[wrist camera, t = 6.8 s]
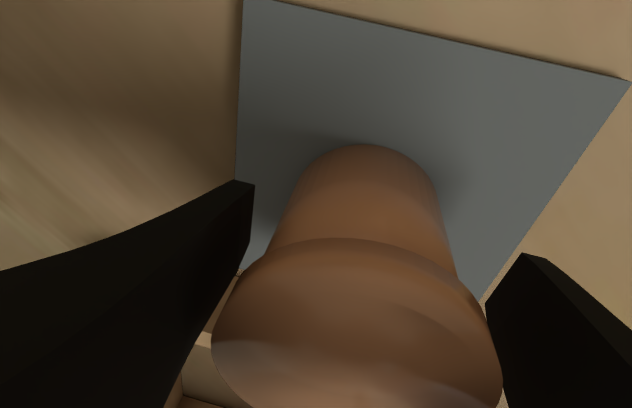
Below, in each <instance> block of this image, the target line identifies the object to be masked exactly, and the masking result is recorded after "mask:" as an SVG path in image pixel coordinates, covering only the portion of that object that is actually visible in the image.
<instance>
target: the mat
mask: <svg viewBox="0 0 632 408" xmlns="http://www.w3.org/2000/svg"><path fill="white" fill-rule="evenodd" d="M631 84H632V82H630V81H627V80H625V79H621V78H617V77H612V76H608V75H603V74H599V73H595V72H590V71H586V70H581V69H577V68H573V67H568V66H564V65H559V64H555V63H550V62H546V61H542V60H537V59H533V58H528V57H524V56H520V55H515V54H511V53H506V52H502V51H498V50H493V49H489V48H484V47H480V46H476V45H471V44H467V43H462V42H458V41H453V40H449V39H445V38H440V37H436V36H431V35H427V34H423V33H418V32H414V31H409V30H405V29H401V28H396V27H392V26H387V25H383V24H378V23H374V22H370V21H365V20H361V19H356V18H352V17H348V16H343V15H339V14H334V13H330V12H326V11H321V10H317V9H312V8H308V7H304V6H299V5H295V4H290V3H286V2H281V1H277V0H243V18H242V38H241V59H240V79H239V99H238V119H237V139H236V159H235V180H238V181H242V182H246V183H250V184H254V185H255V194H254V205H253V216H252V227H251V237H250V243H249V246H248V248H247V250H246V253H245V255H244V257H243V260H242V262H241V264H240V266H239V268H240V269H244V270H246V269H247V268H248V267H249V266H250V265H251V264H252V263H253V262H254V261H256V260H257V259H259V258H260V257H262V256H263V255H264V253H265V251H266V249H267V247H268V245H269V242H270V240H271V238H272V236H273V234H274V231H275V229H276V227H277V225H278V223H279V220H280V218H281V216H282V214H283V212H284V209H285V207H286V205H287V203H288V201H289V198H290V196H291V194H292V192H293V190H294V187H295V185H296V183H297V181H298V179H299V177H300V175H301V174H302V173H303V171H304V170H305V169H306V168H307V167H308V165H309V164H310V163H312V162H313V161H314V160H315V159H317V158H318V157H320V156H321V155H323V154H325V153H327V152H329V151H331V150H334V149H337V148H340V147H344V146H350V145H361V144H367V145H377V146H382V147H386V148H389V149H392V150H395V151H397V152H399V153H401V154H403V155H405V156H407V157H409V158H410V159H412V160H413V161H414V162H416V163H417V164H418V165H419V166H420V167H421V168H422V169H423V170H424V171H425V173H426V174H427V175H428V176H429V178H430V180H431V181H432V183H433V185H434V188H435V190H436V194H437V197H438V201H439V205H440V209H441V213H442V217H443V221H444V225H445V229H446V233H447V236H448V240H449V244H450V248H451V252H452V256H453V260H454V264H455V268H456V272H457V275H458V279H459V280H460V281H461V282H462V283H463V284H464V285H465V286H466V287H467V288H468V289H469V291H470V292H471V293H472V294H473V295H474V297H475V298H476V300H477V302H478V301H479V300H480V299H481V297H482V296H483V294H484V293H485V291H486V290H487V289H488V287H489V286H490V284H491V283H492V282H493V280H494V279H495V277H496V276H497V274H498V273H499V272H500V270H501V269H502V267H503V266H504V264H505V263H506V262H507V260H508V259H509V257H510V256H511V255H512V253H513V252H514V250H515V249H516V247H517V246H518V245H519V243H520V242H521V240H522V239H523V238H524V236H525V235H526V233H527V232H528V230H529V229H530V228H531V226H532V225H533V223H534V222H535V220H536V219H537V218H538V216H539V215H540V213H541V212H542V211H543V209H544V208H545V206H546V205H547V203H548V202H549V201H550V199H551V198H552V196H553V195H554V194H555V192H556V191H557V189H558V188H559V186H560V185H561V184H562V182H563V181H564V179H565V178H566V176H567V175H568V174H569V172H570V171H571V169H572V168H573V167H574V165H575V164H576V162H577V161H578V159H579V158H580V157H581V155H582V154H583V152H584V151H585V150H586V148H587V147H588V145H589V144H590V142H591V141H592V140H593V138H594V137H595V135H596V134H597V132H598V131H599V130H600V128H601V127H602V125H603V124H604V123H605V121H606V120H607V118H608V117H609V115H610V114H611V113H612V111H613V110H614V108H615V107H616V106H617V104H618V103H619V101H620V100H621V98H622V97H623V96H624V94H625V93H626V91H627V90H628V88H629V87H630V86H631Z"/></svg>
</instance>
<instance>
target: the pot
mask: <svg viewBox="0 0 632 408" xmlns="http://www.w3.org/2000/svg"><path fill="white" fill-rule="evenodd" d="M211 353H212V357H213V361H214V363H215V365H216V367H217V370H218V372H219V373H220V375H221V376H222V378H223V379H224V381H225V382H226V383H227V384H228V386H229V387H230V388H231V389H232V390H233V391H234V392H235V393H236V394H237V395H238V396H239V397H240V398H241V399H243V400H244V401H245V402H246V403H248V404H249V405H250V406H251V407H253V408H496V406H497V405H498V403H499V400H500V397H501V394H502V388H503V377H502V371H501V367H500V363H499V360H498V357H497V354H496V350H495V347H494V344H493V341H492V337H491V334H490V331H489V328H488V324H487V321H486V318H485V316H484V313H483V311H482V308H481V306H480V305H479V303H478V302H477V300H476V298H475V297H474V295H473V294H472V293H471V292H470V291H469V289H468V288H467V287H466V286H465V285H464V284H463V283H462V282H461V281H460V280H459V279H458V275H457V272H456V268H455V264H454V260H453V256H452V252H451V248H450V244H449V240H448V236H447V233H446V229H445V225H444V221H443V217H442V213H441V209H440V205H439V201H438V197H437V194H436V190H435V188H434V185H433V183H432V181H431V180H430V178H429V176H428V175H427V174H426V173H425V171H424V170H423V169H422V168H421V167H420V166H419V165H418V164H417V163H416V162H414V161H413V160H412V159H410V158H409V157H407V156H405V155H403V154H401V153H399V152H397V151H395V150H392V149H389V148H386V147H382V146H377V145H367V144H361V145H350V146H344V147H340V148H337V149H334V150H331V151H329V152H327V153H325V154H323V155H321V156H320V157H318V158H317V159H315V160H314V161H313V162H312V163H310V164H309V165H308V167H307V168H306V169H305V170H304V171H303V173H302V174H301V175H300V177H299V179H298V181H297V183H296V185H295V187H294V190H293V192H292V194H291V196H290V198H289V201H288V203H287V205H286V207H285V209H284V212H283V214H282V216H281V218H280V220H279V223H278V225H277V227H276V229H275V231H274V234H273V236H272V238H271V240H270V242H269V245H268V247H267V249H266V251H265V253H264V255H263V256H262V257H260V258H259V259H257V260H256V261H254V262H253V263H252V264H251V265H250V266H249V267H248V268H247V269H246V270H244V271H243V273H242V274H241V276H240V277H239V278H238V280H237V281H236V283H235V285H234V287H233V289H232V291H231V293H230V295H229V297H228V299H227V301H226V303H225V305H224V307H223V309H222V311H221V313H220V315H219V317H218V319H217V321H216V323H215V325H214V328H213V330H212V335H211Z"/></svg>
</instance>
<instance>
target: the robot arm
mask: <svg viewBox="0 0 632 408" xmlns="http://www.w3.org/2000/svg"><path fill="white" fill-rule="evenodd" d="M254 194H255V185H254V184H250V183H246V182H242V181H238V180H235V179H233V180H231V181H229V182H227V183H225V184H223V185H221V186H219V187H217V188H215V189H213V190H211V191H209V192H208V193H206V194H204V195H202V196H200V197H198V198H196V199H194V200H192V201H190V202H188V203H186V204H184V205H182V206H180V207H178V208H176V209H174V210H172V211H170V212H167V213H165V214H163V215H161V216H158V217H156V218H154V219H152V220H149V221H147V222H145V223H143V224H140V225H138V226H136V227H134V228H131V229H129V230H126V231H124V232H121V233H119V234H116V235H113V236H111V237H108V238H105V239H103V240H100V241H97V242H94V243H91V244H88V245H86V246H83V247H80V248H77V249H74V250H71V251H68V252H64V253H61V254H57V255H54V256H51V257H47V258H44V259H40V260H37V261H34V262H30V263H27V264H23V265H20V266H16V267H13V268H10V269H6V270H2V271H0V408H164V405H165V403H166V401H167V399H168V397H169V395H170V392H171V390H172V388H173V386H174V384H175V382H176V380H177V378H178V376H179V373H180V371H181V369H182V367H183V365H184V363H185V361H186V359H187V357H188V355H189V353H190V351H191V350H192V348H193V346H194V344H195V342H196V340H197V339H198V337H199V335H200V334H201V332H202V330H203V329H204V327H205V325H206V324H207V322H208V320H209V319H210V317H211V315H212V314H213V312H214V310H215V309H216V307H217V305H218V304H219V302H220V300H221V299H222V297H223V295H224V293H225V292H226V290H227V288H228V287H229V285H230V283H231V282H232V280H233V278H234V276H235V275H236V273H237V271H238V269H239V266H240V264H241V262H242V260H243V257H244V255H245V253H246V250H247V248H248V246H249V243H250V237H251V227H252V216H253V205H254ZM485 310H486V319H487V324H488V328H489V331H490V334H491V337H492V341H493V344H494V347H495V350H496V354H497V357H498V360H499V363H500V367H501V371H502V377H503V389H504V393H505V396H506V400H507V403H508V407H509V408H632V330H631V329H630V328H628V327H627V326H626V325H625V324H624V323H623V322H621V321H620V320H619V319H618V318H617V317H616V316H614V315H613V314H612V313H611V312H610V311H609V310H608V309H606V308H605V307H604V306H603V305H602V304H601V303H599V302H598V301H597V300H596V299H595V298H594V297H593V296H591V295H590V294H589V293H588V292H587V291H586V290H584V289H583V288H582V287H581V286H580V285H579V284H577V283H576V282H575V281H574V280H573V279H571V278H570V277H569V276H568V275H567V274H565V273H564V272H563V271H562V270H560V269H559V268H558V267H557V266H555V265H554V264H553V263H551V262H550V261H548V260H547V259H545V258H542V257H538V256H534V255H530V254H526V253H521V254H520V255H519V257H518V258H517V260H516V261H515V262H514V264H513V265H512V267H511V268H510V269H509V271H508V272H507V273H506V275H505V276H504V278H503V279H502V280H501V282H500V283H499V284H498V286H497V287H496V289H495V290H494V291H493V293H492V294H491V296H490V297H489V298H488V300H487V301H486V302H485Z"/></svg>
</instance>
